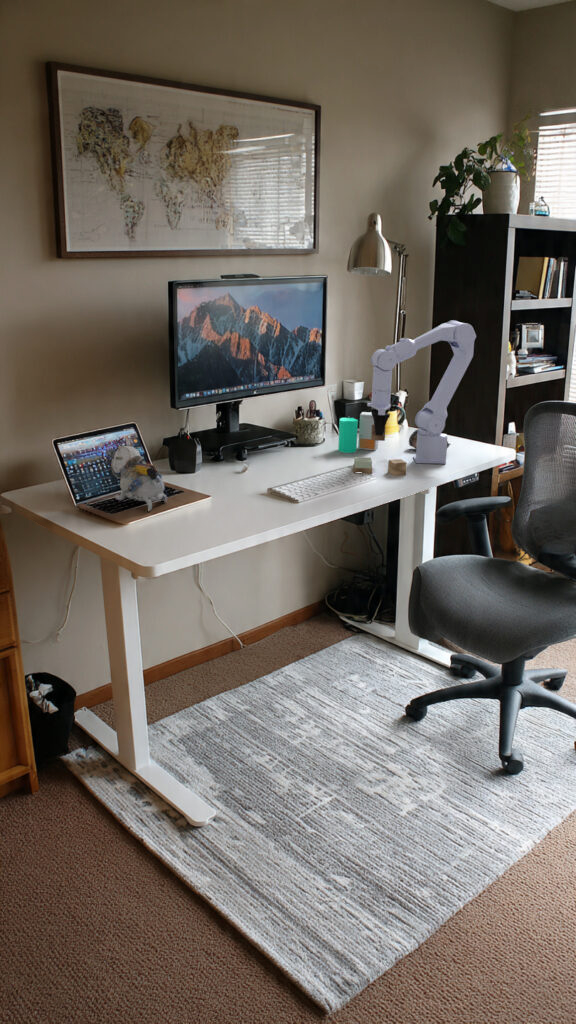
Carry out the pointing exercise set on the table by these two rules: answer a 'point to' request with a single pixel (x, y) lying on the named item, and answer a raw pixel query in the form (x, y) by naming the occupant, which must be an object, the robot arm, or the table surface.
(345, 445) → the candle
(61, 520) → the table surface
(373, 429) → the walnut cube
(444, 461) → the robot arm
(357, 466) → the slab top
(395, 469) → the oak cube
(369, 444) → the skincare box
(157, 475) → the robotic toy
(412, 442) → the bison figurine
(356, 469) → the slab bottom
